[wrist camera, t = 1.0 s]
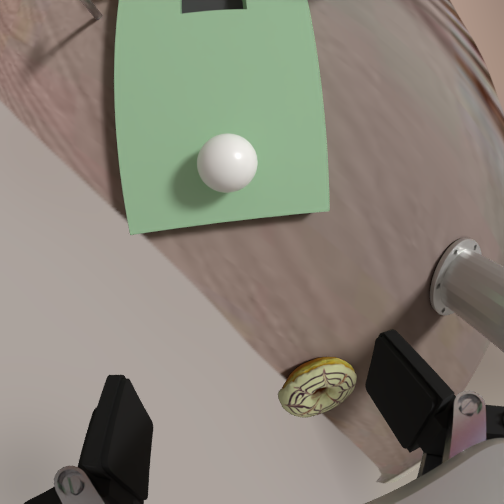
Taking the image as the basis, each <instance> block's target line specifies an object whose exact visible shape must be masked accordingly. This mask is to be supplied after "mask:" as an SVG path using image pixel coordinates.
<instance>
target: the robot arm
mask: <svg viewBox="0 0 504 504" xmlns="http://www.w3.org/2000/svg"><path fill="white" fill-rule="evenodd" d="M430 301H431V305H432V307H433V309H434V310H435V311H436V312H437V313H439V314H440V315H450V314H452V313H456V314H457V315H458V316H459V317H461V318H462V319H463V320H465V321H466V322H467V323H468V324H470V325H471V326H472V327H473V328H475V329H476V330H477V331H478V332H480V333H481V334H482V335H483V336H485V337H486V338H487V339H488V340H490V341H491V342H492V343H493V344H494V345H496V346H497V347H498V348H499V349H500V350H501V351H503V352H504V266H502V265H500V264H498V263H496V262H494V261H492V260H490V259H488V258H486V257H484V256H482V255H481V250H480V247H479V245H478V243H477V242H476V241H475V240H472V239H470V238H466V237H465V238H461V239H459V240H457V241H455V242H454V243H453V244H452V245H451V246H450V247H449V248H448V249H447V250H446V252H445V253H444V254H443V256H442V258H441V259H440V261H439V263H438V265H437V267H436V270H435V272H434V275H433V278H432V283H431V288H430ZM366 390H367V392H368V394H369V395H370V397H371V398H372V400H373V401H374V403H375V405H376V406H377V408H378V409H379V411H380V412H381V414H382V416H383V417H384V419H385V420H386V422H387V423H388V425H389V427H390V428H391V430H392V431H393V433H394V434H395V436H396V438H397V439H398V441H399V442H400V444H401V446H402V447H403V448H405V449H406V448H407V449H408V451H409V452H412V451H414V450H416V449H418V448H419V447H421V449H422V450H423V455H422V460H421V464H420V468H419V473H418V476H417V479H415V480H413V481H411V482H410V483H408V484H406V485H404V486H402V487H400V488H398V489H396V490H394V491H392V492H390V493H388V494H386V495H383V496H381V497H379V498H377V499H374V500H372V501H370V502H367V503H365V504H504V407H502V406H491V405H485V401H484V399H483V398H482V397H481V396H480V395H479V394H478V393H476V392H474V391H464V392H461V393H460V394H458V395H457V396H455V395H454V392H453V391H452V390H451V389H450V387H449V386H448V385H447V384H446V383H445V382H444V381H443V380H442V379H441V378H440V377H439V375H438V374H437V373H436V372H435V371H434V370H433V369H432V368H431V367H430V366H429V365H428V364H427V363H426V361H425V360H424V359H423V358H422V357H421V356H420V355H419V354H418V353H417V352H416V351H415V350H414V349H413V348H412V347H411V346H410V345H409V344H408V343H407V342H406V341H405V340H404V339H403V338H402V337H401V335H400V334H399V333H398V332H397V331H395V330H389V331H386V332H383V333H380V335H379V337H378V338H377V339H376V341H375V346H374V351H373V355H372V360H371V364H370V368H369V373H368V376H367V380H366ZM152 434H153V423H152V420H151V419H150V417H149V415H148V413H147V412H146V410H145V408H144V406H143V404H142V402H141V401H140V399H139V397H138V395H137V393H136V391H135V389H134V387H133V385H132V383H131V381H130V380H129V379H126V378H125V376H124V375H109V376H108V377H107V379H106V382H105V385H104V388H103V391H102V394H101V397H100V400H99V403H98V406H97V408H95V409H94V411H93V414H92V417H91V420H90V423H89V427H88V430H87V433H86V437H85V440H84V444H83V448H82V452H81V455H80V460H79V463H78V467H75V466H66V467H63V468H61V469H60V470H59V471H58V472H57V473H56V475H55V478H54V486H55V487H53V488H51V489H49V490H48V491H46V492H44V493H42V494H40V495H38V496H36V497H34V498H32V499H30V500H28V501H27V502H25V503H24V504H144V500H146V499H147V498H148V483H149V468H150V467H149V466H150V456H151V445H152Z"/></svg>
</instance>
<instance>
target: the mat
mask: <svg viewBox="0 0 504 504" xmlns="http://www.w3.org/2000/svg"><path fill="white" fill-rule="evenodd" d="M114 98H115V121H116V136H117V147H118V158H119V167H120V175H121V183H122V190H123V196H124V203H125V209H126V215H127V221H128V226H129V231H130V235H134V234H140V233H147V232H154V231H161V230H168V229H175V228H182V227H190V226H197V225H205V224H213V223H221V222H229V221H237V220H246V219H255V218H264V217H273V216H283V215H293V214H303V213H314V212H325V211H330V209H329V175H328V156H327V140H326V127H325V116H324V105H323V96H322V87H321V79H320V71H319V64H318V57H317V50H316V44H315V38H314V32H313V26H312V21H311V16H310V11H309V6H308V1H307V0H119V4H118V13H117V23H116V36H115V58H114ZM226 133H230V134H236V135H239V136H241V137H243V138H245V139H246V140H247V141H248V142H249V143H250V144H251V145H252V146H253V148H254V150H255V152H256V155H257V160H258V165H257V170H256V173H255V176H254V178H253V179H252V180H251V182H250V183H249V184H248V185H247V186H245V187H244V188H242V189H241V190H238V191H235V192H231V193H223V192H218V191H215V190H213V189H211V188H210V187H208V186H207V185H206V184H205V183H204V182H203V181H202V179H201V177H200V175H199V173H198V169H197V158H198V154H199V151H200V150H201V148H202V146H203V145H204V144H205V143H206V142H207V141H208V140H209V139H211V138H212V137H214V136H217V135H220V134H226Z"/></svg>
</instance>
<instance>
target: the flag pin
mask: <svg viewBox="0 0 504 504" xmlns="http://www.w3.org/2000/svg"><path fill="white" fill-rule="evenodd" d="M80 1H81V3H82V4H83V5H84V6H85V7H86V8H87V10H88V11H89V12H90V13H91V14H92V15H93V17H94V18H95V19H97V20H98V19H100V18H101V17H102V14H101V13H100V11H99V10H98V9H97V8H96V6H95V5H94V4H93V2H92V1H91V0H80Z"/></svg>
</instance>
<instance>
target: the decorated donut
mask: <svg viewBox="0 0 504 504" xmlns="http://www.w3.org/2000/svg"><path fill="white" fill-rule="evenodd" d="M356 377H357V375H356V374H355V371H354V369H353V368H352V366H351V365H350V364H348V363H347V362H346V361H344V360H341V359H339V358H336V357H321V358H316V359H314V360H311V361H309V362H306V363H304V364H302V365H301V366H299V367H297V368H296V369H295V370H294V371H293V372H292V373H291V374H290V375H289V377H288V379H287V380H286V382H285V384H284V385H283V387H282V389H281V390H280V391H279V393H278V398H279V400H280V403H281V404H282V407H283V408H284V409H285V410H286V411H287V412H289V413H290V414H292V415H294V416H299V417H311V416H314V415H318V414H321V413H324V412H327V411H330V410H331V409H333V408H334V407H336V406H337V405H339V404H341V403H342V402H343V401H344V400H345V399H346V398H347V397H348V396H349V395H350V394H351V393H352V391H353V389H354V388H355V384H356Z"/></svg>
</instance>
